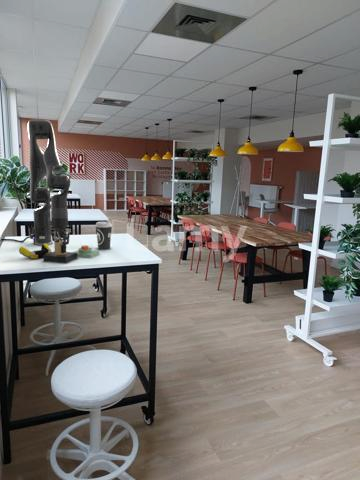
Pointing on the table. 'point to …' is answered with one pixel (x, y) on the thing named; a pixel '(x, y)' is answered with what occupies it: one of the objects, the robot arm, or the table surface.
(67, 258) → the panel
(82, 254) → the button box
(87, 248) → the button
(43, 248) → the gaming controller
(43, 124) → the robot arm
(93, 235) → the table surface
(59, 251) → the knob
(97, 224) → the coffee cup
